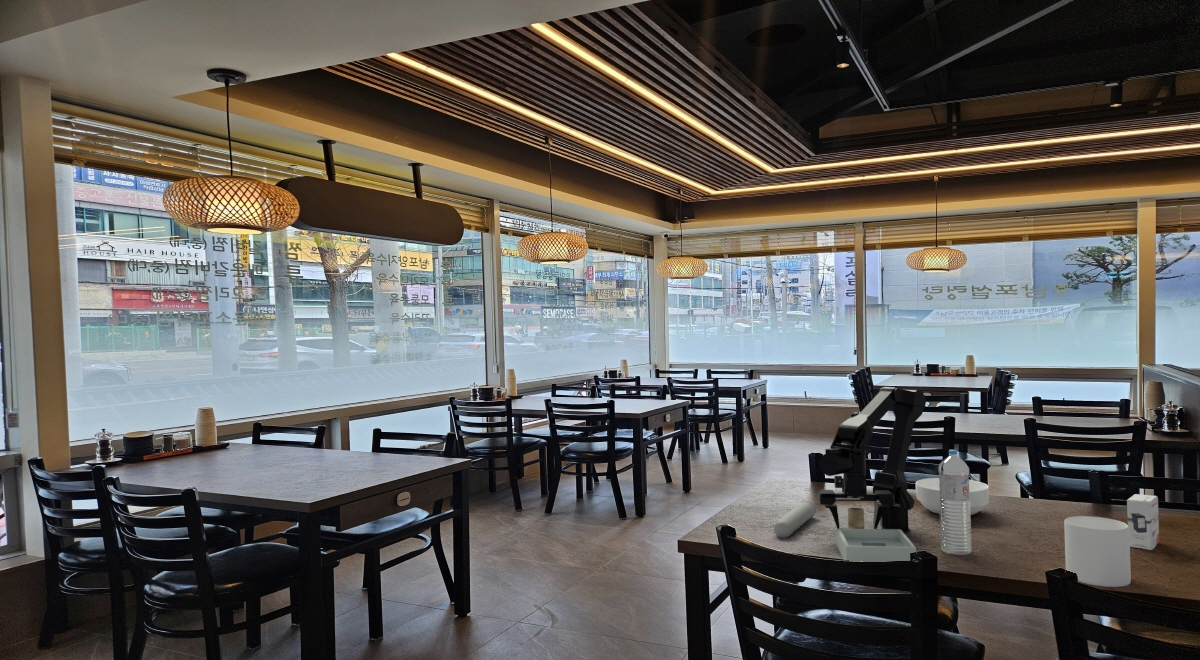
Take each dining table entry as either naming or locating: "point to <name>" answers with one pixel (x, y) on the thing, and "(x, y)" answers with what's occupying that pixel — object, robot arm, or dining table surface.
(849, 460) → the robot arm
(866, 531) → the caddy
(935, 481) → the bowl
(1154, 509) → the ink box
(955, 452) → the water bottle
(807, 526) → the dining table surface
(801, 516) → the tube
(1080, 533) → the cup
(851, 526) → the peg
